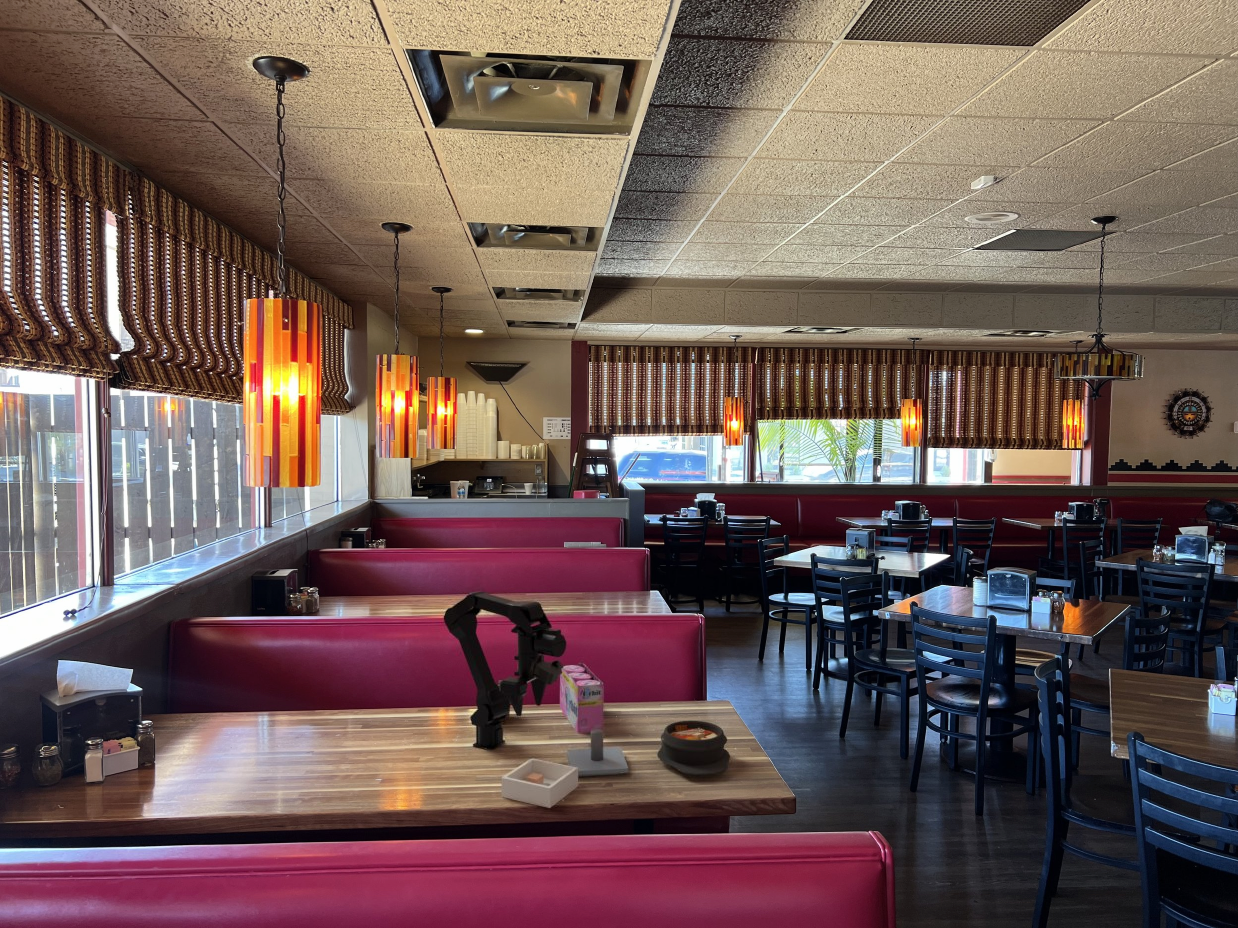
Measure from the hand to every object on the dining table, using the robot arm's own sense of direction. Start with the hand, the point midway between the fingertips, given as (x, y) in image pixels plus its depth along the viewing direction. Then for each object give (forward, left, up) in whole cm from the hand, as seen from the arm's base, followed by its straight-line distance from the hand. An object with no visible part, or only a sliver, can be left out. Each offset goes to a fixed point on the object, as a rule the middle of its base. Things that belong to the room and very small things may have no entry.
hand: (528, 710), depth 218 cm
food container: (-22, +20, -12) cm, 32 cm away
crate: (+14, -17, -12) cm, 25 cm away
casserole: (+40, +16, -12) cm, 44 cm away
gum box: (-2, +31, -12) cm, 33 cm away
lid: (+19, +2, -12) cm, 22 cm away
